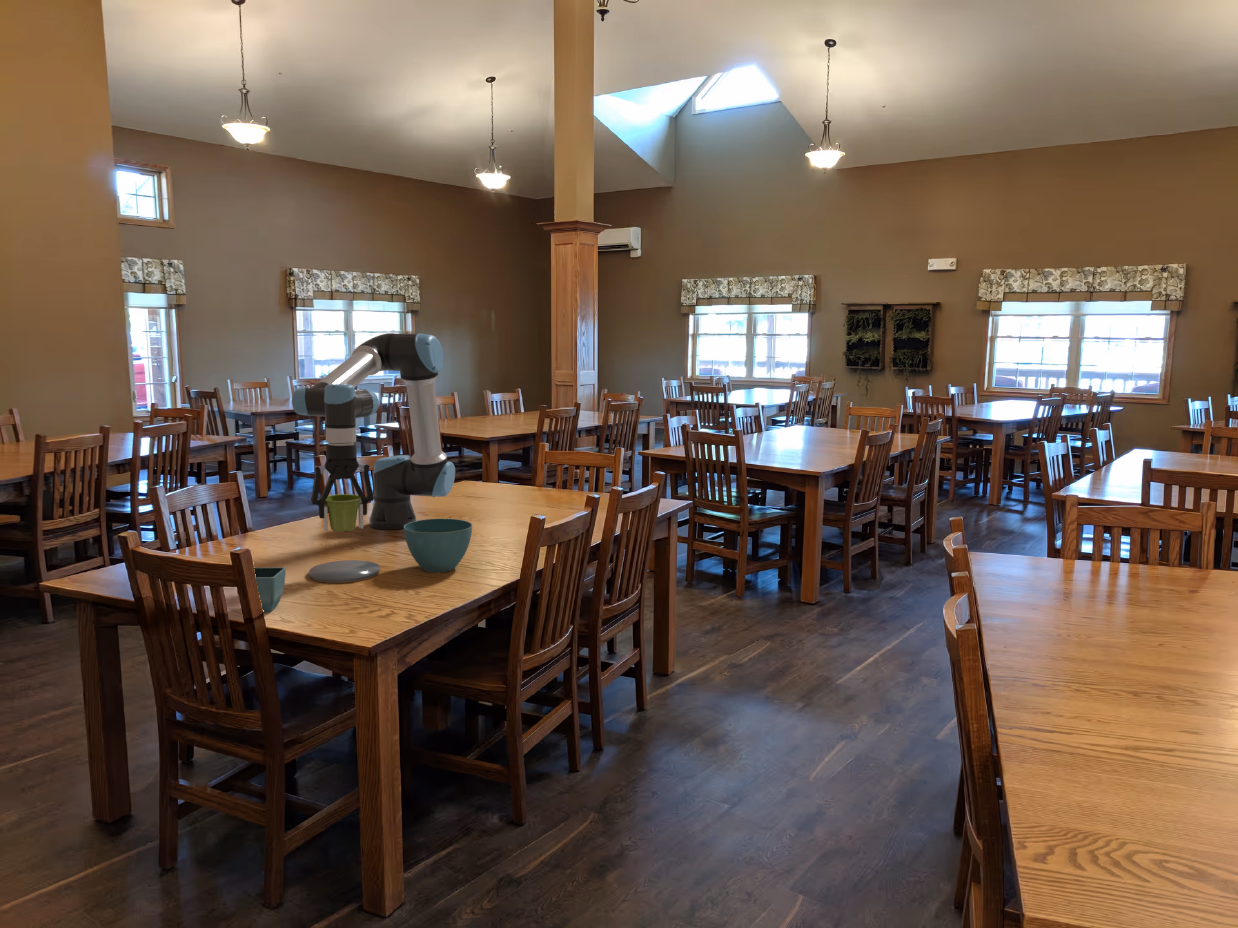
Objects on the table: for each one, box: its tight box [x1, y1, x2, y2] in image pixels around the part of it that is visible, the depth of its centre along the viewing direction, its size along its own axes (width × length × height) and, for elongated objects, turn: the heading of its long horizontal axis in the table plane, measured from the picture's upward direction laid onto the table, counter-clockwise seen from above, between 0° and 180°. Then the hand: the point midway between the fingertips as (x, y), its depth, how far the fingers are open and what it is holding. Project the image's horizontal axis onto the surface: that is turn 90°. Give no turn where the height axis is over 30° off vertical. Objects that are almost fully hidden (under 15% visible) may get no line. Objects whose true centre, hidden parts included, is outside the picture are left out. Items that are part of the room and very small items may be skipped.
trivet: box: [308, 559, 381, 584], centre depth 222 cm, size 18×18×1 cm
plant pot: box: [325, 493, 361, 533], centre depth 220 cm, size 9×9×9 cm
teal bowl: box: [403, 518, 473, 574], centre depth 228 cm, size 18×18×12 cm
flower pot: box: [236, 566, 287, 613], centre depth 191 cm, size 9×9×9 cm
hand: (343, 528), depth 220 cm, fingers closed on plant pot, 8 cm apart
